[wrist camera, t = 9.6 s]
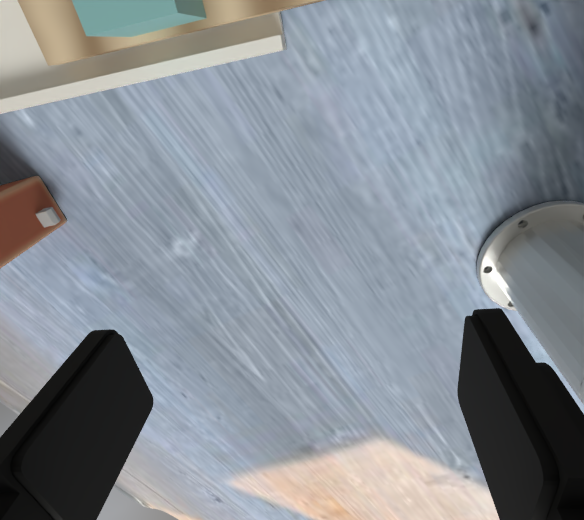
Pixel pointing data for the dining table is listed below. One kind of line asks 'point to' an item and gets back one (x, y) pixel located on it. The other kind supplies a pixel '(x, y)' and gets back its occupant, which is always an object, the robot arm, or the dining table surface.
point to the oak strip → (76, 45)
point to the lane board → (120, 58)
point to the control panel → (25, 216)
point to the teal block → (135, 15)
